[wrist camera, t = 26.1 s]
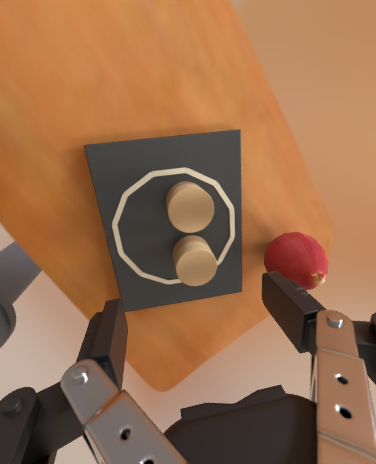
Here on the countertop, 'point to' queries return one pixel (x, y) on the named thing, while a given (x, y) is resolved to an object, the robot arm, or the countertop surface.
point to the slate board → (156, 216)
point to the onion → (297, 259)
